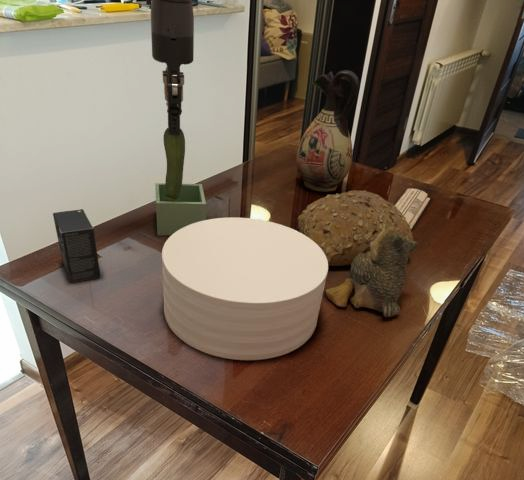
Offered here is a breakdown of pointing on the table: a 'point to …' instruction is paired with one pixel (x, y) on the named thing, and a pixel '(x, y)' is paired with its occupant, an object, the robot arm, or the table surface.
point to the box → (77, 245)
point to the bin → (179, 208)
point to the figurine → (377, 275)
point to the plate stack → (242, 287)
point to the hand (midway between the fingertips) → (174, 130)
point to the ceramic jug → (328, 136)
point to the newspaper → (412, 204)
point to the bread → (350, 223)
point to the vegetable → (174, 164)
